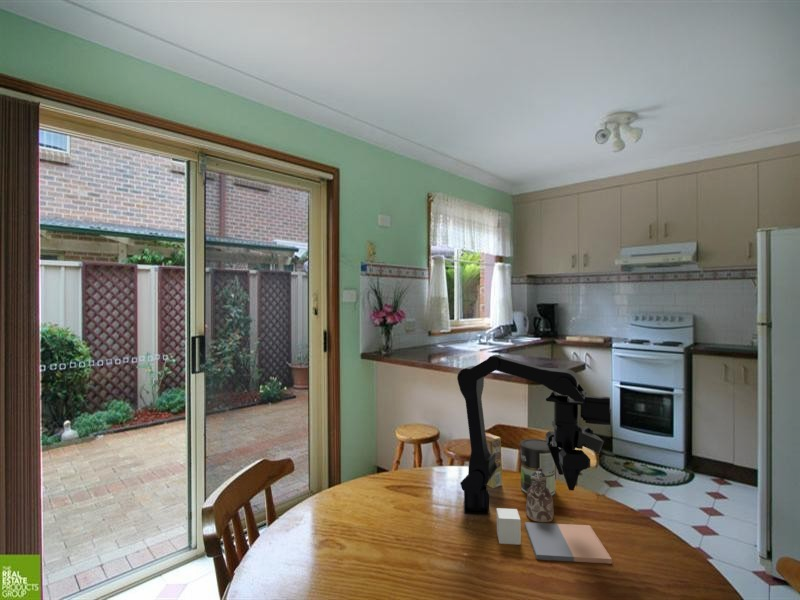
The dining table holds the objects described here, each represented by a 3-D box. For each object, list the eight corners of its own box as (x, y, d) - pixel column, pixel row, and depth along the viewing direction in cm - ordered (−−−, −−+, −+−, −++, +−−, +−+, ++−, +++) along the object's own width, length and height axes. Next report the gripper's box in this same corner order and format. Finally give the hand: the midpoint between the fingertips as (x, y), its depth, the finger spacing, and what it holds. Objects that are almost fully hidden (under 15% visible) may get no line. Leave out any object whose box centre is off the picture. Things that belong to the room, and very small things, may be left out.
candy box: (502, 485, 129) (501, 437, 129) (493, 489, 127) (492, 439, 127) (482, 476, 136) (481, 430, 137) (473, 479, 134) (472, 432, 134)
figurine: (522, 517, 109) (521, 472, 110) (530, 506, 115) (529, 463, 115) (549, 525, 105) (548, 478, 106) (556, 513, 111) (555, 469, 111)
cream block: (499, 543, 97) (498, 518, 97) (496, 532, 102) (496, 508, 102) (520, 544, 97) (520, 519, 97) (517, 533, 102) (516, 509, 102)
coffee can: (522, 495, 122) (521, 448, 122) (519, 481, 132) (518, 437, 132) (558, 498, 120) (557, 450, 120) (552, 484, 130) (552, 439, 130)
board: (536, 559, 91) (536, 554, 91) (524, 526, 105) (524, 522, 105) (611, 563, 89) (611, 559, 89) (589, 529, 103) (589, 525, 103)
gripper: (614, 432, 93) (614, 501, 93) (587, 411, 111) (587, 469, 111) (563, 430, 94) (563, 498, 94) (545, 410, 113) (545, 466, 113)
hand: (566, 482), depth 103 cm, fingers open, 9 cm apart
